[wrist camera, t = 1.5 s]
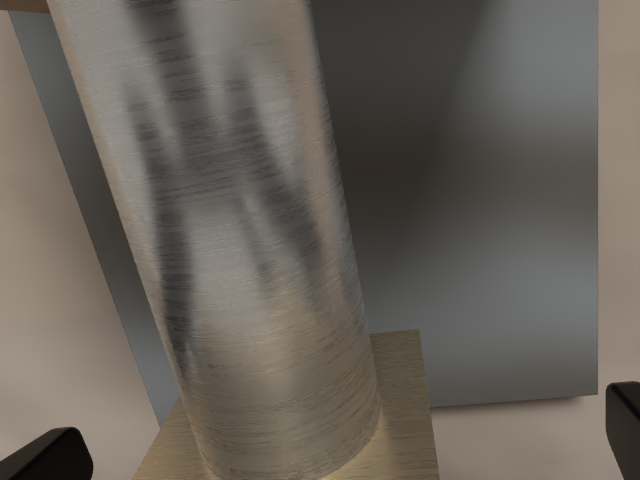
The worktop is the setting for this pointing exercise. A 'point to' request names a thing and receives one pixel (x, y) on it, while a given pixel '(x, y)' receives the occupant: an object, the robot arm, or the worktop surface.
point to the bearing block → (421, 186)
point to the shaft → (244, 243)
